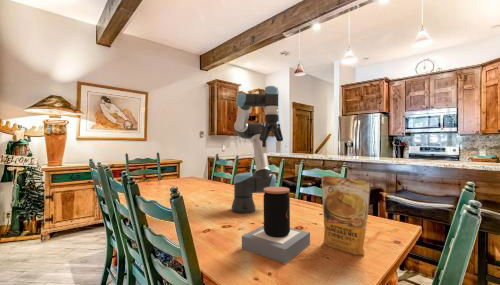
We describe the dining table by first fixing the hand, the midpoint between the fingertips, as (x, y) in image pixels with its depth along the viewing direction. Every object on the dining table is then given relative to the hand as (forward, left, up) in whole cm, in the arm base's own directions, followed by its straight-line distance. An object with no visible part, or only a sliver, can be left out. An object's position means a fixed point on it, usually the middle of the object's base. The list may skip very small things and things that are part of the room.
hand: (272, 153), depth 131 cm
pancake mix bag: (+42, -13, -37) cm, 57 cm away
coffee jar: (+20, -28, -32) cm, 46 cm away
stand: (+20, -28, -37) cm, 50 cm away
